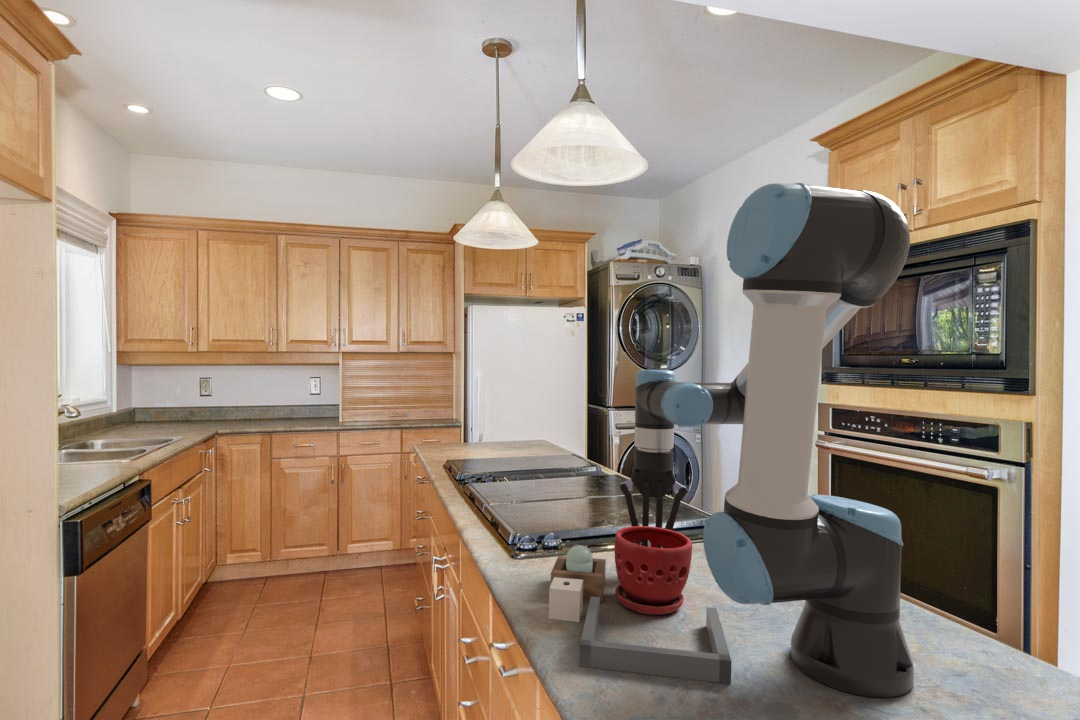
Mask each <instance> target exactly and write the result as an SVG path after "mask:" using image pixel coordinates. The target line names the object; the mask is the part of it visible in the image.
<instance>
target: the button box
mask: <svg viewBox="0 0 1080 720" xmlns="http://www.w3.org/2000/svg"><path fill="white" fill-rule="evenodd" d="M566 557H567V555H557V557H556V560H555V563H554V564H553V567H552V569H551V572H550V584H551V583H552V581H553V578H554V577H558V578H569V579H581V580H583V602H588V603H589V602H590V598H591V596H592V597H600V604H601V603H603V599H604V591H605V587H606V572H607V571H606V569H607V568H606V566H607V565H606V564H607V559H604V558H593V569H592V573H588V572H576V571H566Z"/></svg>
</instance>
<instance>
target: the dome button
mask: <svg viewBox="0 0 1080 720" xmlns="http://www.w3.org/2000/svg"><path fill="white" fill-rule="evenodd" d="M566 556H567V557H566V571H576V572H588V573H592V569H593V554H592V551H591V550H590V549H589V548H588V547H587V546H584V545H581V544H578V545H574V546H572V547H570V548H569V550H568V552H567V554H566Z"/></svg>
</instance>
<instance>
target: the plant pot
mask: <svg viewBox="0 0 1080 720" xmlns="http://www.w3.org/2000/svg"><path fill="white" fill-rule="evenodd" d="M663 528H664V527H662V528H658V527H656V526H642V525H639V526H632V525H631V526H627V527H622V528H620V529H618V530H617V531H616V533H615V536H614V537H615V539H614V564H615V571H616V576H617V579H618V581H619V584H618V585H616V588H615V590H614V591H615V595H616V598H617V599H618V601H619V602H620V603H621V604H622V605H624V607H626V608H628V609H630V610H631V611H634V612H637V613H640V614H646V615H666V614H670V613H673V612H676V611H677V610H679V608H681V606H682V605H683V603H684V601H685V597H684V595H683V593H682V592H683V591H684V588H685V587H686V584H687V581H688V578H689V574H690V569H691V564H692V554H693V542H692V540H691V539H690V538H689V537H688V536H686V535H685V534H683V533H680V532H679V531H675V530H668V529H663ZM643 539H647V540H649V541H650V543H651V547H646V546H642V544H641V543H642V540H643ZM634 541H635V543H633V542H634ZM658 545H661V546H662V548H657V546H658Z"/></svg>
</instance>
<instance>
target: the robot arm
mask: <svg viewBox="0 0 1080 720" xmlns="http://www.w3.org/2000/svg"><path fill="white" fill-rule="evenodd" d="M910 248H911V234H910V229H909V225H908V222H907V219H906V217H905V215H904V214H903V212H902V211H901V209H900V207H899V206H897V204H896V203H895V202H894V201H892V200H891V199H889V198H887V197H885V196H884V195H882V194H879V193H877V192H873V191H869V190H868V191H867V190H852V189H845V188H844V189H843V188H836V187H830V186H821V185H815V184H806V183H802V182H796V183H769V184H765V185H763V186H760V187H759V188H757V189H755V190H754V191H753V192H752V193H750V195H748V196H747V197H746V199H745V200H744V201H743V203H742V205H741V206H740V207H739V208H738V210H737V212H736V213H735V215H734V217H733V220H732V223H731V226H730V228H729V231H728V236H727V241H726V258H727V260H728V261H729V265H728V266H729V268H730V269H731V271H732V272H733V273H734V274H735V275H737V276H739V278H741V279H742V280H743V281H742V291H741V292H742V294H743V295H744V296H745V297H746V298H747V299H748V300H749V301H750V302H751V303H752V306H753V308H752V319H751V320H752V321H751V330H750V342H749V343H750V344H749V353H748V362H747V363H746V364H745V366H744V367H743V368H742V370H740V372H739V374H738V375H736V376H735V378H734V379H733V381H731V382H685V381H684V382H682V381H680V382H679V381H676V375H675V372H674V371H672V370H669V369H668V370H666V369H639V370H638V372H637V373H636V376H635V377H636V379H635V386H634V390H635V393H634V395H635V402H634V404H635V405H634V408H635V409H634V413H635V414H634V442H633V443H634V446H635V449H634V451H633V472H632V473H631V476H630V478H629V479H628V480H626V481H621V482H620V484H619V485H620V486H619V489H620V490H621V492H622V493H623V495H624V497H625V501H626V506H627V509H628V510H627V511H628V515H629V521H630V524H631V525H630V526H631V527H632V526H640V525H639V521H638V516H637V512H636V511H637V510H636V507H635V502H634V498H633V493H632V491H633V489H634V487H635V489H636V490H637V491H638V492H639V494H640V495H641V496H642V515H641V516H642V518H641V523H642V525H641V526H649V525H650V524H649V520H650V517H649V516H650V498H652V497H653V498H655V527H658V528H663V529H668V530H672V531H674V526H675V522H676V521H677V520H676V518H677V516H678V511H679V508H680V504H681V502H682V501H681V500H682V499H683V498H684V496H685V495H686V494H687V491H688V490H687V487H686V486H685V485H684V484H681V483H679V482H678V481H677V480H676V479H677V478H676V477H675V475H674V452H673V451H672V449H673V448H675V447H674V445H675V444H674V443H675V441H674V440H675V426H676V425H677V426H678V427H680V428H685V427H687V428H696V427H700V426H701V425H704V426H705V425H742V432H741V444H740V455H739V456H740V458H739V467H738V468H739V469H738V477H737V478H738V481H737V482H736V484H735V485H732V487H730V488H729V489H727V490H726V491H725V494H724V500H723V501H724V502H723V511H718V512H717V511H716V512H714V513H713V514H711V515H710V516H709V517H708V519H706V520H705V523H704V527H703V534H702V539H703V540H702V541H703V549H704V554H705V559H706V561H707V565H708V568H709V570H710V572H711V574H712V575H711V576H712V577H713V579H714V581H715V582H716V584H717V586H718V587H719V590H721V591H722V593H723V594H724V595H725V596H726V597H728V598H729V599H730V600H731V601H733V602H735V603H737V604H740V605H760V606H761V605H762V606H770V605H771V604H776V603H787V602H797V601H798V602H799V601H804V605H803V607H802V610H801V612H800V614H799V618H798V620H797V622H796V624H795V628H794V629H793V632H792V635H791V639H790V658H791V660H792V662H793V663H794V665H795V666H796V667H797V668H798V669H799V670H800V671H802V672H803V673H804V674H806V675H807V676H809V677H810V678H812V679H813V680H815V681H818V682H819V683H821V684H824V685H825V686H828V687H830V688H833V689H836V690H839V691H843V692H846V693H849V694H854V695H858V696H865V697H872V698H893V697H894V698H895V697H898V696H903V695H905V694H907V693H908V692H910V691H912V689H913V687H914V681H915V680H914V678H915V677H914V675H915V667H914V662H913V660H912V656H911V653H910V650H909V646H908V644H907V640H906V637H905V635H904V632H903V631H904V630H903V629H902V625H901V622H900V620H901V618H900V616H901V615H900V614H901V613H900V611H901V587H902V565H903V564H902V560H903V547H904V542H903V540H902V523H901V520H900V518H899V516H898V515H897V514H896V513H894V512H893V511H891V510H889V509H887V508H884V507H882V506H879V505H875V504H872V503H868V502H864V501H860V500H856V499H851V498H846V497H842V496H841V497H840V496H835V495H827V494H812V495H809V494H808V490H809V482H810V472H811V461H812V450H813V444H814V443H813V442H814V435H815V434H814V433H815V424H816V423H815V422H816V415H817V402H818V393H819V383H820V376H821V375H820V374H821V364H822V355H823V349H824V348H825V347H826V346H827V344H828V343H830V341H832V339H833V338H834V337H835V336H836V335H837V334H838V333H839V332H840V331H841V330H842V329H843V328H844V327H845V325H847V323H848V322H849V321H850V320H851V319H852V318H853V317H854V316H855V314H856V313H857V312H859V311H860V309H865V308H867V309H868V308H871V307H873V306H875V305H876V304H877V303H878V302H879V300H881V298H883V296H884V295H885V294H886V293H887V292H888V291H889V290H890V288H892V286H893V285H895V282H896V281H897V279H898V277H899V276H900V274H901V273H902V271H903V270H904V269H903V268H904V266H905V264H906V262H907V259H908V256H909V251H910ZM633 485H634V486H633ZM672 488H673V498H672V501H671V505H670V508H669V513H668V517H667V520H666V523H665V526H664V527H663V510H664V509H663V505H664V503H663V502H664V497H665V496H667V494H668V493H669V492H670V490H671V489H672ZM641 545H642V546H646V547H651V543H650V541H649V540H647V539H643V540H641ZM657 548H662V546H661V545H658V546H657Z"/></svg>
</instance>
